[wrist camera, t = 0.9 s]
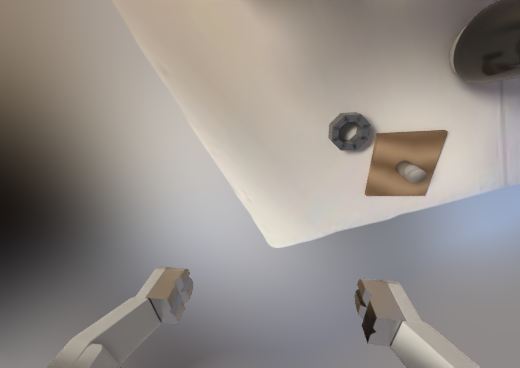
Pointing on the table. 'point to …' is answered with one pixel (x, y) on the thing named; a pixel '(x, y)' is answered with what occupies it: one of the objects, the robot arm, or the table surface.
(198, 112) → the table surface
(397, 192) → the piston stand
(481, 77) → the black rounded piece
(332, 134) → the ring
